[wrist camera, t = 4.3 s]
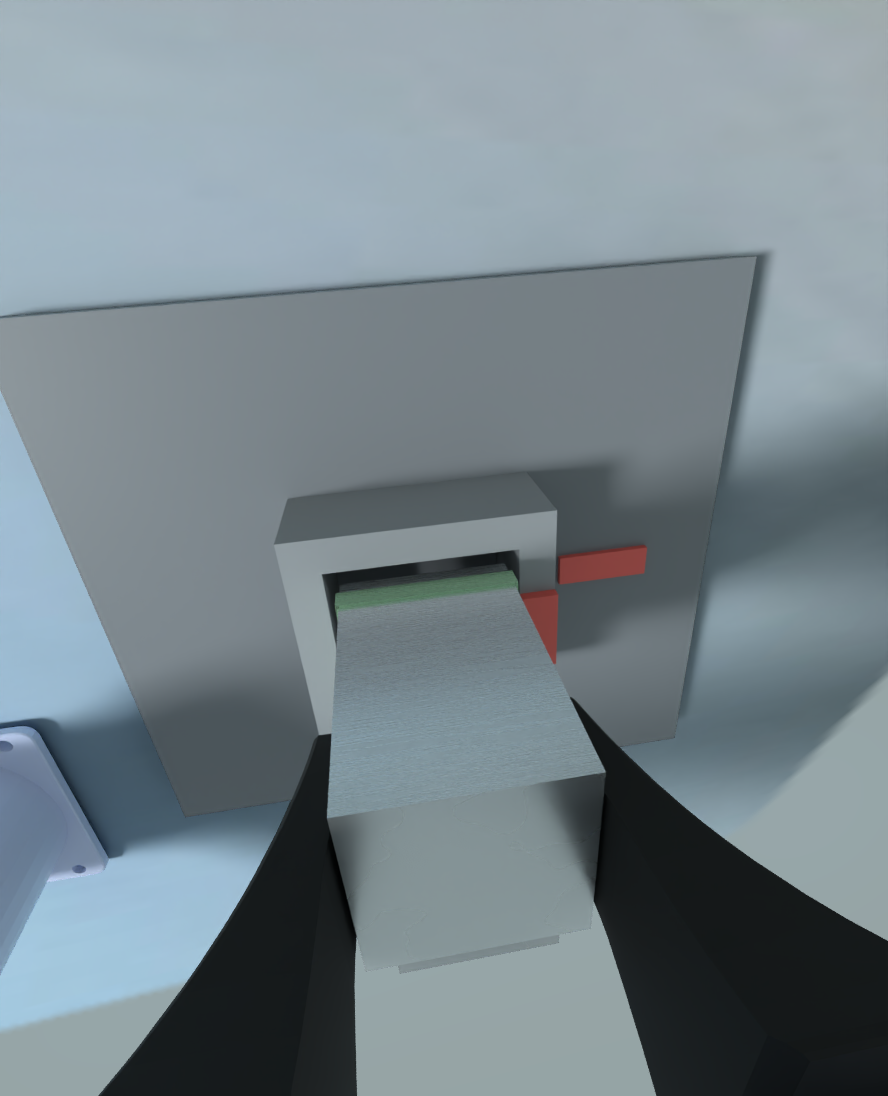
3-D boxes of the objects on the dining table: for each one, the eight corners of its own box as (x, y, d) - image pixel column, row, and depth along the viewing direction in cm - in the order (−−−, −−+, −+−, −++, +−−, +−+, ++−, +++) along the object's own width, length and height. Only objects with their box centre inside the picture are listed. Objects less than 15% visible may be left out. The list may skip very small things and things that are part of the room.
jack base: (191, 795, 23) (158, 903, 19) (-6, 317, 14) (-138, 337, 10) (662, 720, 24) (719, 805, 21) (734, 256, 16) (852, 255, 12)
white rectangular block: (362, 722, 17) (365, 986, 11) (336, 582, 15) (320, 815, 8) (509, 700, 17) (593, 942, 11) (507, 560, 15) (611, 767, 9)
